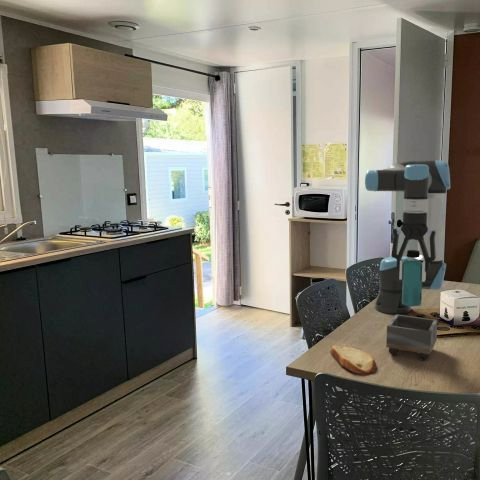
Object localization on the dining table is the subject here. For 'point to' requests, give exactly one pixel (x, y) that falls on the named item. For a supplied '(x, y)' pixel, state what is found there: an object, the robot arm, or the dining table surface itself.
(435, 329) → the cart
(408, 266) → the beverage bottle
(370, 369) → the bread slice
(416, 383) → the dining table surface
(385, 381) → the dining table surface
